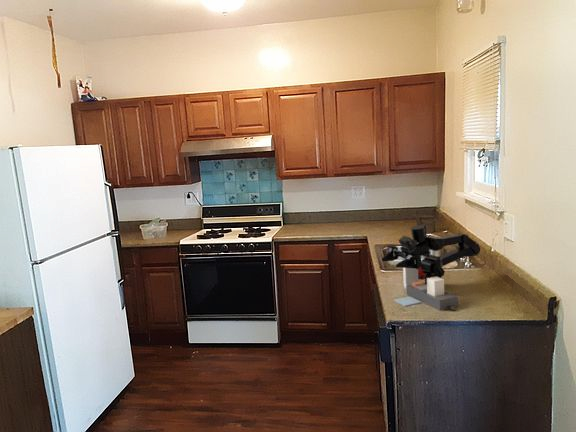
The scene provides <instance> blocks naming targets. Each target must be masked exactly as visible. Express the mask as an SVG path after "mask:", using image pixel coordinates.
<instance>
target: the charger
mask: <svg viewBox="0 0 576 432" xmlns="http://www.w3.org/2000/svg"><path fill="white" fill-rule="evenodd" d="M444 291H445V279H444V278H442V277H441V278H439V277H431V278H427V294H429V295H432V296H434V297H435V296H439V295H444Z"/></svg>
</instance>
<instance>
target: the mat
mask: <svg viewBox="0 0 576 432" xmlns="http://www.w3.org/2000/svg"><path fill="white" fill-rule="evenodd" d="M393 301H394V302H396V303H398V304H400V305H401V306H402V307H403V306H404V307H408V306H413V305H418V304H421V303H422V302H421V301H419V300H417V299H415V298H413V297H410V296H405V297H401V298H395V299H393Z"/></svg>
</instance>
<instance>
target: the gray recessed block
mask: <svg viewBox="0 0 576 432" xmlns="http://www.w3.org/2000/svg"><path fill="white" fill-rule="evenodd" d="M418 281H419V280H418ZM406 287H407V289H406V295H407V297H412V298H414V299H416V300H418V301H420V302H421V303H423V304H425V305H428V306H430V307H432V308H433V309H435V310H438V311H444V310H448V309H450V310H452V311H453V312H455V311H456V310H457V307H458V306H459V296H458V295H455V294H453V293H451V292H448V291H446V290H444V295H439V296H435V297H434V296H432V295H429V294H427V284H426V283H425V281H424V282H422V281H419V282H414V283H412V285H407V286H406Z"/></svg>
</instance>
